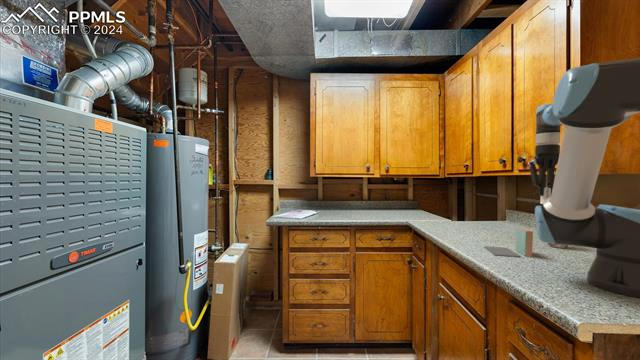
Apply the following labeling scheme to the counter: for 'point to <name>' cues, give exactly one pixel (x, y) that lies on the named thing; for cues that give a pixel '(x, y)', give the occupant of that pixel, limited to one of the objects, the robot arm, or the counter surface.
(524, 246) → the tile
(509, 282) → the counter surface
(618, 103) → the robot arm
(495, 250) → the mat
